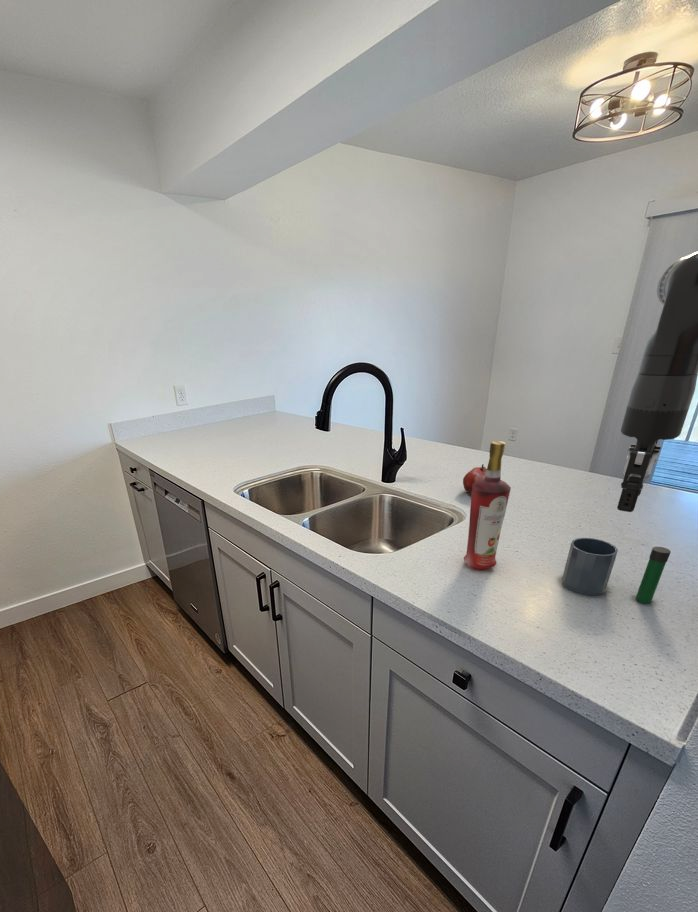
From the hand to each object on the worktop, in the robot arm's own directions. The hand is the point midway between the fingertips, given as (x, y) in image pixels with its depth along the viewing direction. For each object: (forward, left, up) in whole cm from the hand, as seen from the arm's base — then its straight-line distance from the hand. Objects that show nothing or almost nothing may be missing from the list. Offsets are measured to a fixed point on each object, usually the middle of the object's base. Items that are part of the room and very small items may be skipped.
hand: (628, 502), depth 74 cm
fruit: (-8, -60, -21) cm, 64 cm away
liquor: (+14, -18, -21) cm, 31 cm away
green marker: (-9, +1, -21) cm, 23 cm away
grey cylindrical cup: (-2, -6, -21) cm, 22 cm away
